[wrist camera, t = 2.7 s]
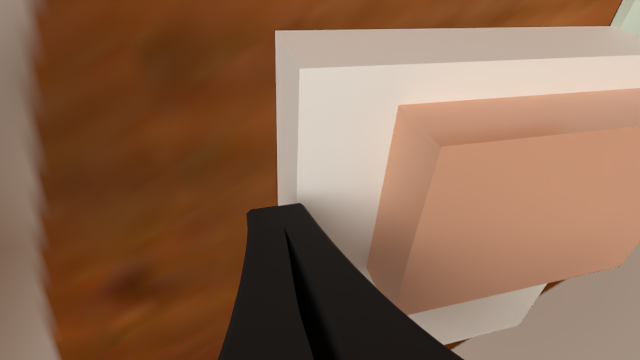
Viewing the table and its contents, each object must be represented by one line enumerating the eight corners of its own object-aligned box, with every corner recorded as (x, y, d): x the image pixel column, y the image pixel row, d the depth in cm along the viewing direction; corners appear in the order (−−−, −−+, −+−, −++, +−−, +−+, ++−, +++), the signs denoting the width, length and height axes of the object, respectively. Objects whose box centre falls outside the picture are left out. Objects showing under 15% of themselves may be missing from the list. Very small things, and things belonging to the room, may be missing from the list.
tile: (574, 228, 15) (619, 266, 13) (366, 267, 12) (390, 318, 11) (666, 86, 11) (742, 115, 10) (398, 104, 9) (441, 146, 7)
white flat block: (484, 279, 21) (519, 325, 19) (280, 323, 18) (292, 383, 16) (609, 26, 13) (700, 52, 11) (275, 31, 10) (299, 68, 8)
